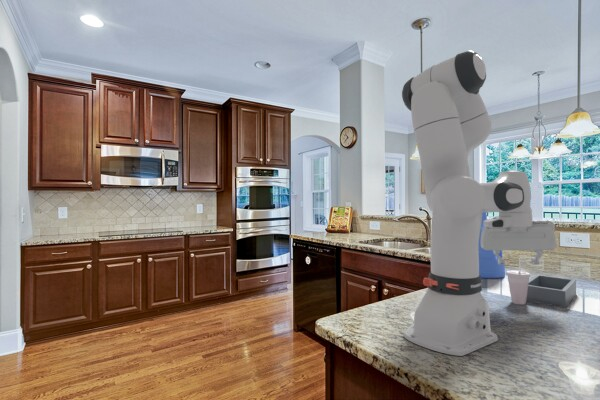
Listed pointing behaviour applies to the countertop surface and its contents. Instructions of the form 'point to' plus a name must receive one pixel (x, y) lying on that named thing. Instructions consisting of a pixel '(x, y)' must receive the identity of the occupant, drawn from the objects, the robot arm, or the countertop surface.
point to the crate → (551, 290)
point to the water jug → (489, 259)
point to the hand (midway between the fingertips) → (518, 264)
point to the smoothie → (518, 285)
